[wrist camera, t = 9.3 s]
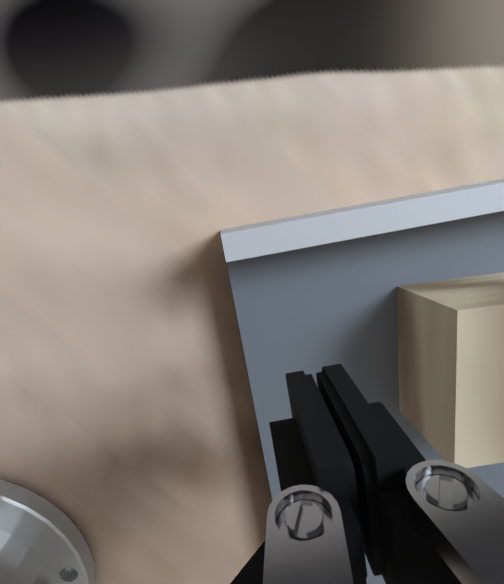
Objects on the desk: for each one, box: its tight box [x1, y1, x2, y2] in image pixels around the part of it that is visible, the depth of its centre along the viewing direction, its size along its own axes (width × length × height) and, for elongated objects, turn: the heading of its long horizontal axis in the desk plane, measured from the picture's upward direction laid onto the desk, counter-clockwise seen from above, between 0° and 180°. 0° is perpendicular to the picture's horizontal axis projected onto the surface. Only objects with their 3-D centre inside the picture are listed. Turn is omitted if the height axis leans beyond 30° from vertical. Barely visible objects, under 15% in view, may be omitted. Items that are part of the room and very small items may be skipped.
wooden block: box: [397, 273, 504, 468], centre depth 14 cm, size 6×6×4 cm
